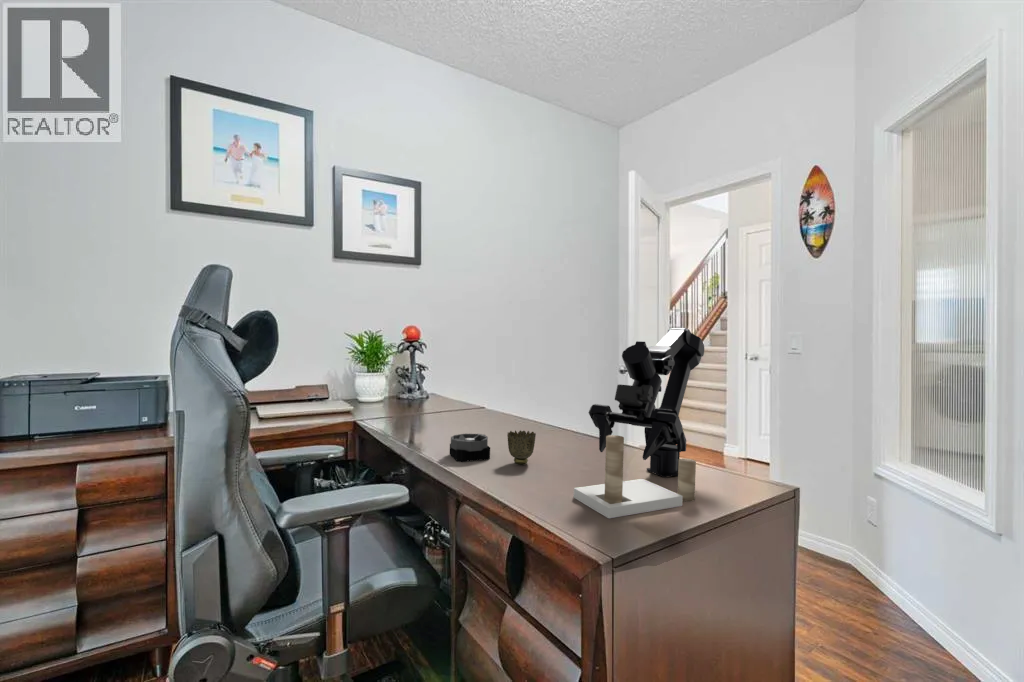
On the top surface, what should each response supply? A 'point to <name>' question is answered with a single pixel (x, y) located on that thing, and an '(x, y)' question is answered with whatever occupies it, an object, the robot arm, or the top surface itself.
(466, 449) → the cpu cooler
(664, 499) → the hole plate
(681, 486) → the short pin
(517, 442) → the cup
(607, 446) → the long pin
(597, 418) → the robot arm
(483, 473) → the top surface
